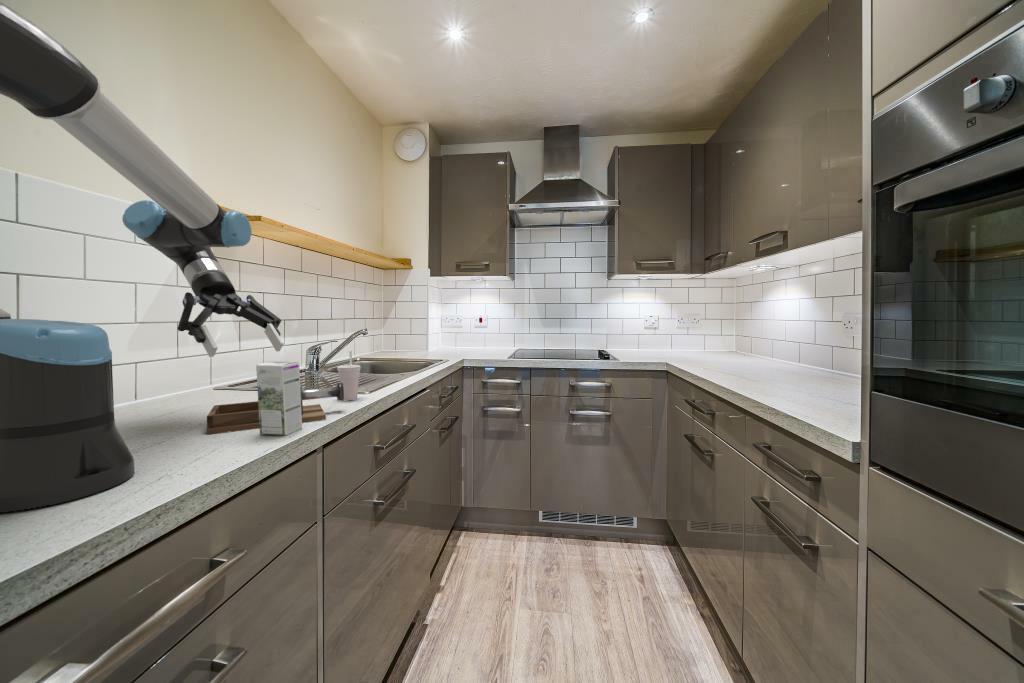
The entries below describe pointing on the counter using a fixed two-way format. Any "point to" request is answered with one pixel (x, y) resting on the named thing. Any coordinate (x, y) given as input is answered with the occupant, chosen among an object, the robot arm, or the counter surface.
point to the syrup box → (279, 398)
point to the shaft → (324, 393)
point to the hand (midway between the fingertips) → (249, 349)
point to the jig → (250, 416)
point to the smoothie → (349, 379)
